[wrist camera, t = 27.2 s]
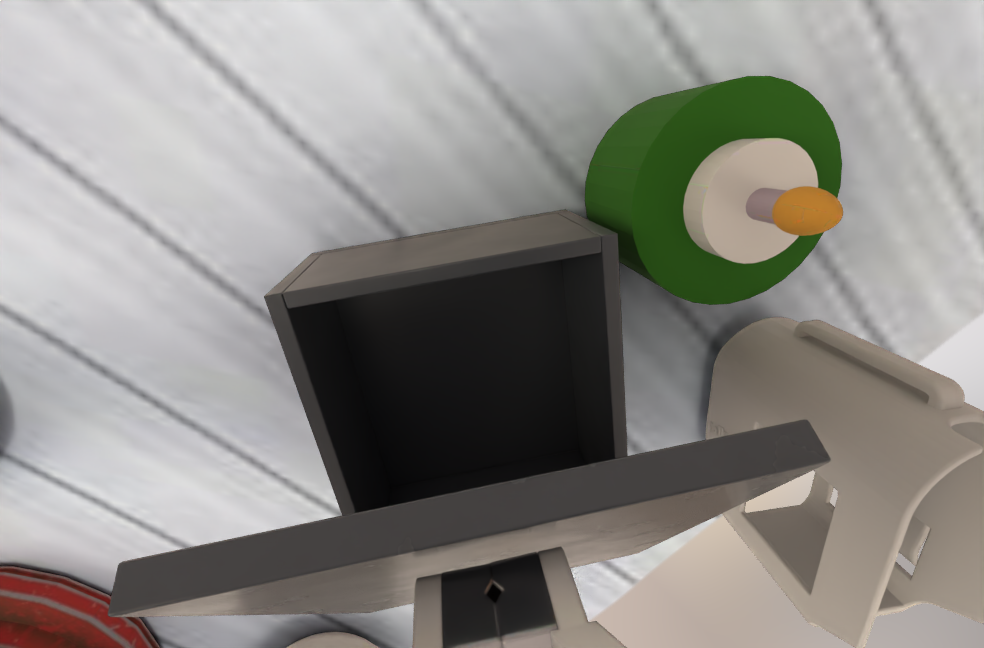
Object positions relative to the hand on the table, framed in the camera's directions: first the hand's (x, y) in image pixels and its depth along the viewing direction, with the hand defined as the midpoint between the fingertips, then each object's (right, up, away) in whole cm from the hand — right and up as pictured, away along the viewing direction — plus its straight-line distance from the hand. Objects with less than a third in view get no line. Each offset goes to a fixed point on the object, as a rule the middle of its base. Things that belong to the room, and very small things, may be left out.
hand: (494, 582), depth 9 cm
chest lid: (0, -2, +5) cm, 5 cm away
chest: (-1, +3, +15) cm, 15 cm away
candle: (+8, +12, +13) cm, 20 cm away
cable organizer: (+15, 0, +18) cm, 24 cm away
